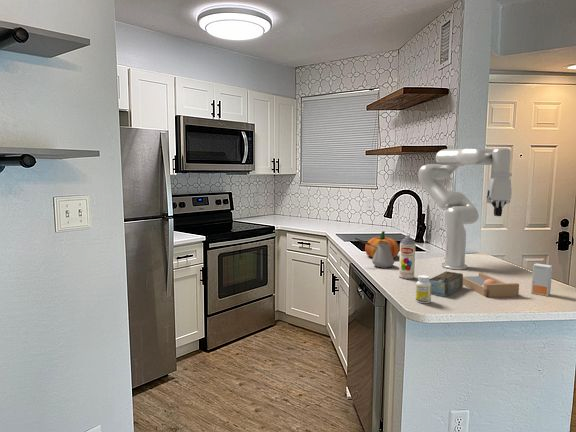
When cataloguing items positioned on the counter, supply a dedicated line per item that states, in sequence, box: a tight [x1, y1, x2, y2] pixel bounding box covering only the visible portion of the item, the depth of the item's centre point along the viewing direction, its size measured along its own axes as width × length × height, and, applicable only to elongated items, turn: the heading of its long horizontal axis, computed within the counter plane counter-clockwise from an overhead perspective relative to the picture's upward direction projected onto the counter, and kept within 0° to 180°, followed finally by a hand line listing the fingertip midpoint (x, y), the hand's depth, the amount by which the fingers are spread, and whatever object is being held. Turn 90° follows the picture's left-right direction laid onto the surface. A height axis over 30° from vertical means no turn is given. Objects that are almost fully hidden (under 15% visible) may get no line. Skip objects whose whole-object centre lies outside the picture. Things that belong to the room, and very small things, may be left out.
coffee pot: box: [353, 237, 395, 269], centre depth 214 cm, size 21×12×15 cm, turn 88°
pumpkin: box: [364, 231, 400, 259], centre depth 237 cm, size 19×19×15 cm
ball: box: [483, 279, 496, 287], centre depth 171 cm, size 5×5×5 cm
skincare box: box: [530, 263, 553, 297], centre depth 167 cm, size 6×4×12 cm
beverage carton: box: [429, 270, 464, 298], centre depth 172 cm, size 8×19×7 cm, turn 137°
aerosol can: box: [398, 234, 416, 280], centre depth 191 cm, size 7×7×20 cm
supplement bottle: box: [415, 274, 432, 304], centre depth 156 cm, size 5×5×10 cm
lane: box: [463, 272, 520, 298], centre depth 176 cm, size 27×13×5 cm, turn 5°
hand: (497, 215), depth 189 cm, fingers closed
